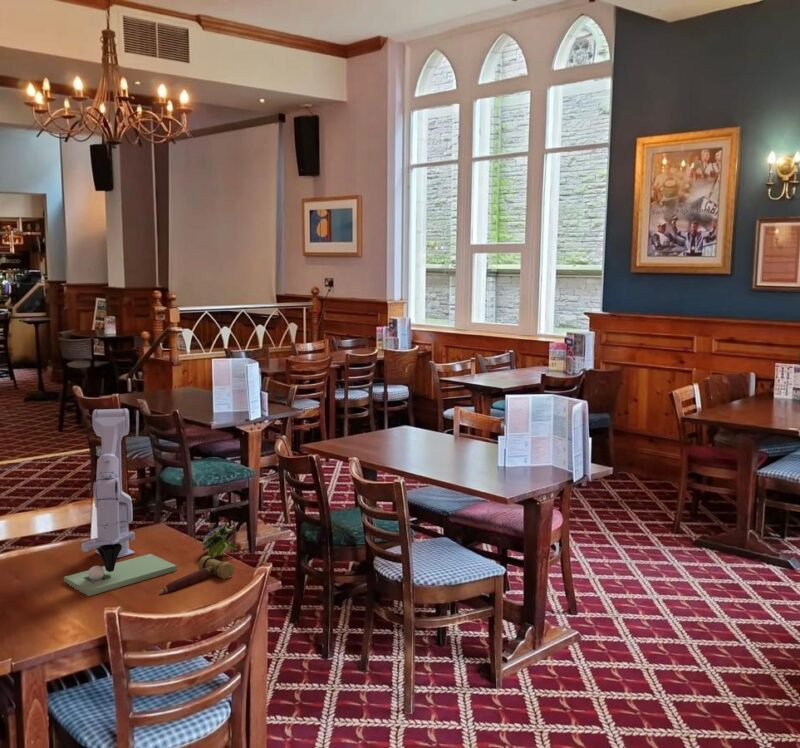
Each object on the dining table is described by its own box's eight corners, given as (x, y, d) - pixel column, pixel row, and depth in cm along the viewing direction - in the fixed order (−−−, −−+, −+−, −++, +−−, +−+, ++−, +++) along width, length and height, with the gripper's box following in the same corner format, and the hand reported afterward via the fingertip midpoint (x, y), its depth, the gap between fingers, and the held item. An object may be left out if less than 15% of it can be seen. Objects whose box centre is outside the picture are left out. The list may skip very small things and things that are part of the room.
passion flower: (211, 568, 249) (215, 530, 255) (244, 565, 247) (247, 526, 252) (192, 558, 240) (197, 519, 246) (226, 554, 237) (230, 515, 243)
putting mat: (64, 582, 223) (63, 576, 223) (150, 558, 242) (150, 553, 242) (88, 596, 214) (88, 590, 213) (176, 570, 232) (176, 565, 232)
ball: (94, 579, 224) (82, 576, 221) (101, 565, 225) (90, 562, 222) (102, 584, 222) (91, 580, 219) (109, 570, 223) (98, 566, 220)
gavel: (171, 588, 212) (148, 579, 218) (173, 605, 213) (149, 595, 219) (234, 561, 228) (210, 553, 234) (235, 576, 229) (211, 568, 235)
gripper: (89, 531, 215) (91, 581, 217) (140, 519, 226) (141, 567, 228) (77, 525, 220) (79, 574, 222) (127, 514, 231) (128, 561, 232)
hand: (109, 570), depth 225 cm, fingers closed
